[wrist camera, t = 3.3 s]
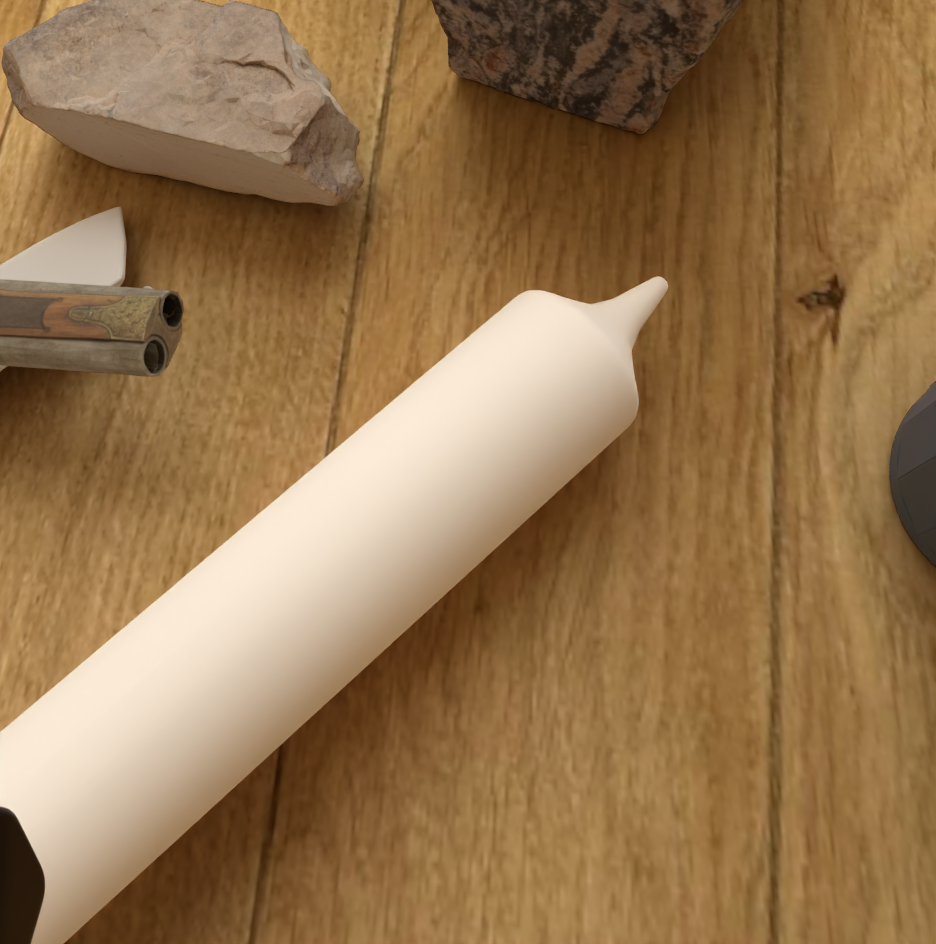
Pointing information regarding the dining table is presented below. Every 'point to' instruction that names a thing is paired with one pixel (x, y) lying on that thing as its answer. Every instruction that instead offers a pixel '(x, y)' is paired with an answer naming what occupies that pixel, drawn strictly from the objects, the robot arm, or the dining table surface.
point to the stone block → (583, 50)
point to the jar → (917, 473)
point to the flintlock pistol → (88, 327)
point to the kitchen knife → (75, 254)
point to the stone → (188, 97)
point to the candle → (311, 593)
